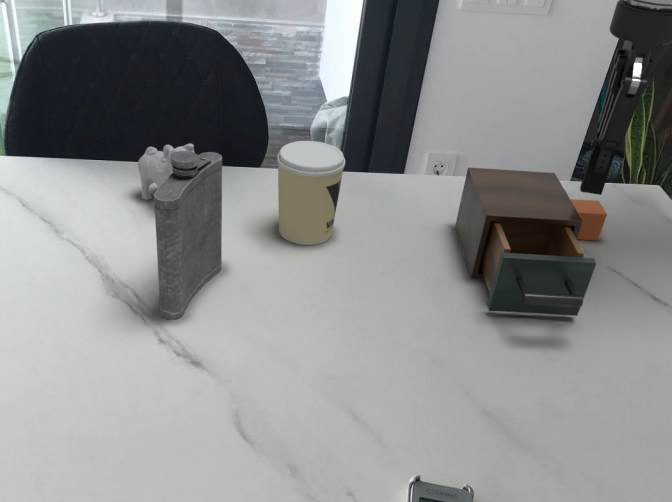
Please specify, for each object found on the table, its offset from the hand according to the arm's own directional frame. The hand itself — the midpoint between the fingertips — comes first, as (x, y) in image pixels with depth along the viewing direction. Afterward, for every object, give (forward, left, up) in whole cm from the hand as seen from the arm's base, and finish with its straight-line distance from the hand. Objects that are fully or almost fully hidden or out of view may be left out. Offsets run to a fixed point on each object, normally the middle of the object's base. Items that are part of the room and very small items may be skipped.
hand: (590, 190), depth 104 cm
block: (-4, -9, -11) cm, 15 cm away
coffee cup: (+38, -4, -11) cm, 40 cm away
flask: (+53, +13, -11) cm, 56 cm away
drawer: (+9, +11, -10) cm, 17 cm away
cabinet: (+9, -1, -11) cm, 14 cm away
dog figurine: (+58, -10, -11) cm, 60 cm away
